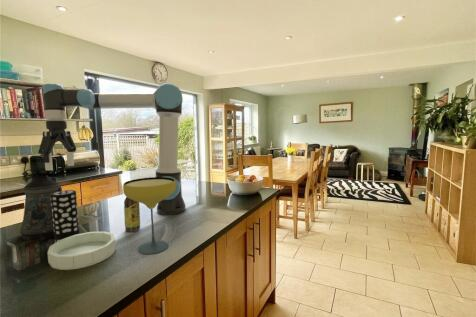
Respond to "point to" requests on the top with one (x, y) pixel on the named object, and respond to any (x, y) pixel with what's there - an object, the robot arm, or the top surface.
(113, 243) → the bowl
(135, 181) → the cocktail glass
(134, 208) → the sauce bottle
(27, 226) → the beer stein
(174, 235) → the top surface
